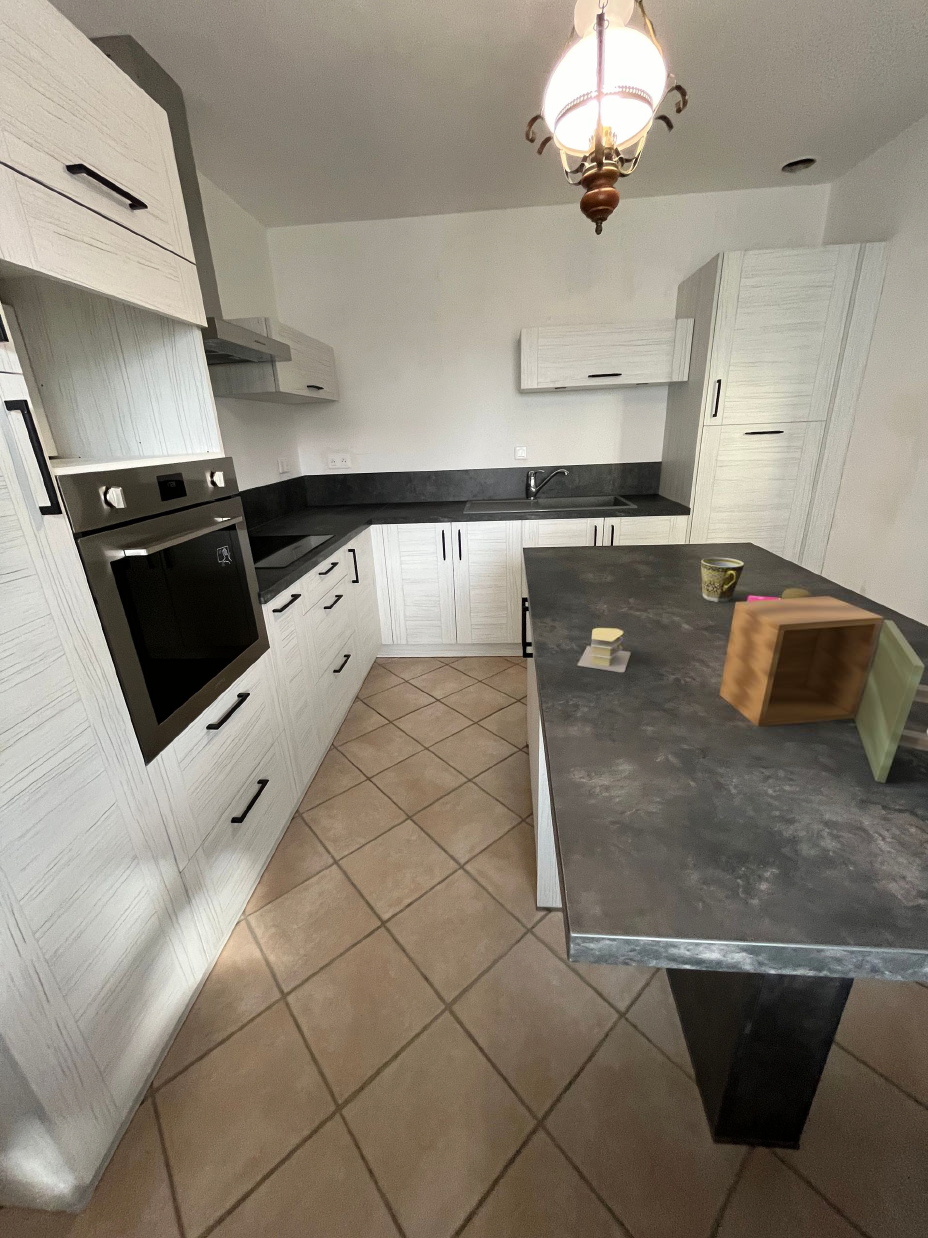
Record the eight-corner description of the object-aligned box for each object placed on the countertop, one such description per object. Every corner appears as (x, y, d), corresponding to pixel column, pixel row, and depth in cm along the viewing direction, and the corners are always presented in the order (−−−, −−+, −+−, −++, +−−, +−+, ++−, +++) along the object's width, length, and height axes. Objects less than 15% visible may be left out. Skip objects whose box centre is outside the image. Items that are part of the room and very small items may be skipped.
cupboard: (853, 718, 76) (883, 617, 70) (757, 727, 75) (779, 624, 69) (805, 687, 85) (828, 595, 79) (719, 694, 84) (735, 601, 78)
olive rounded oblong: (766, 638, 105) (776, 589, 101) (777, 630, 109) (787, 583, 105) (798, 646, 101) (810, 596, 97) (808, 638, 105) (820, 589, 101)
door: (910, 730, 72) (947, 626, 66) (945, 798, 59) (994, 676, 53) (854, 719, 76) (883, 619, 70) (875, 781, 63) (914, 664, 57)
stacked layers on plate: (624, 673, 93) (626, 646, 91) (577, 665, 96) (578, 640, 94) (630, 652, 101) (633, 627, 99) (587, 646, 105) (588, 622, 103)
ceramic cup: (690, 592, 136) (695, 557, 132) (727, 592, 135) (733, 556, 131) (710, 608, 123) (716, 570, 120) (750, 607, 123) (758, 569, 119)
